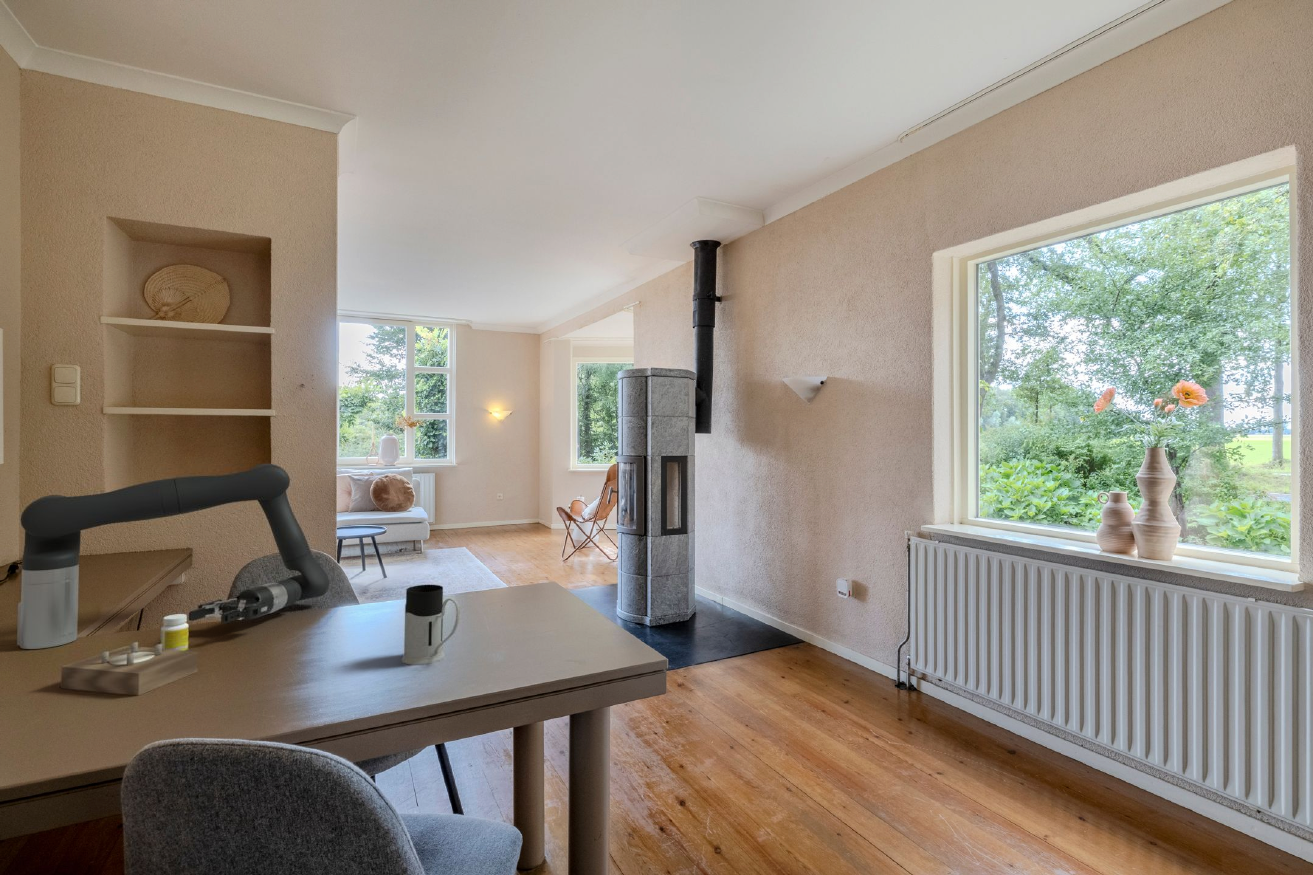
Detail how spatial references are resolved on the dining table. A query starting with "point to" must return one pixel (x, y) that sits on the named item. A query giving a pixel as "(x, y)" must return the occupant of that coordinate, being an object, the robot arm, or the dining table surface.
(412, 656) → the glass holder
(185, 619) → the supplement bottle
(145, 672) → the seat block
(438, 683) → the dining table surface
